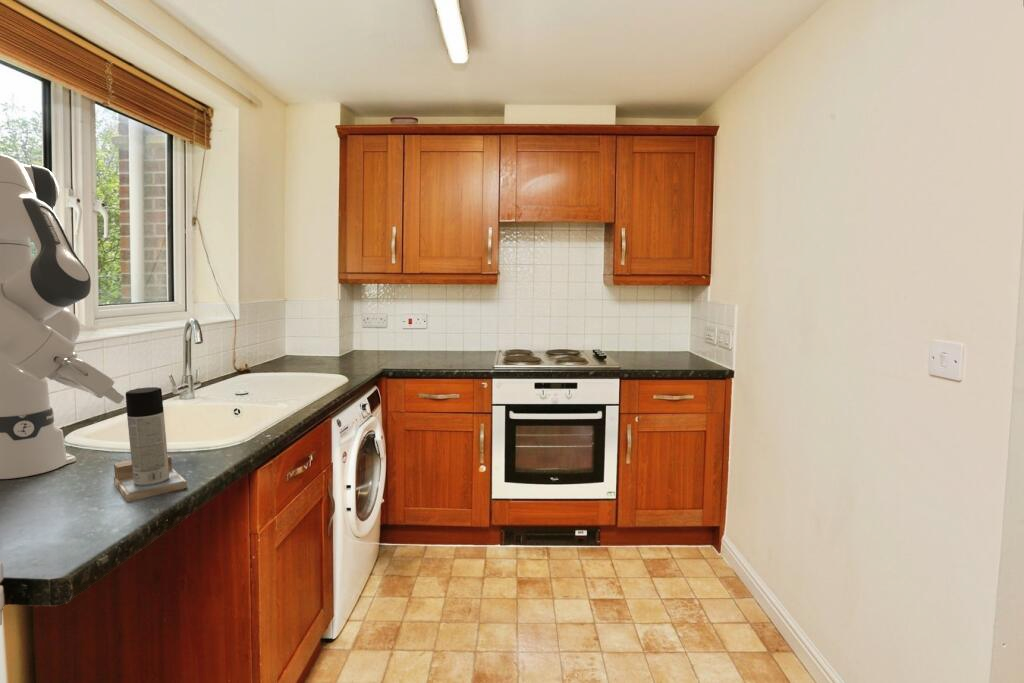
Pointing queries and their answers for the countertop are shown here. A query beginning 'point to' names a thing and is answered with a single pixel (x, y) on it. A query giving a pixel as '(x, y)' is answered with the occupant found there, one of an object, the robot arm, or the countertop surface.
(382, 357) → the countertop surface
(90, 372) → the robot arm
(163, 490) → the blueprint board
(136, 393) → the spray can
